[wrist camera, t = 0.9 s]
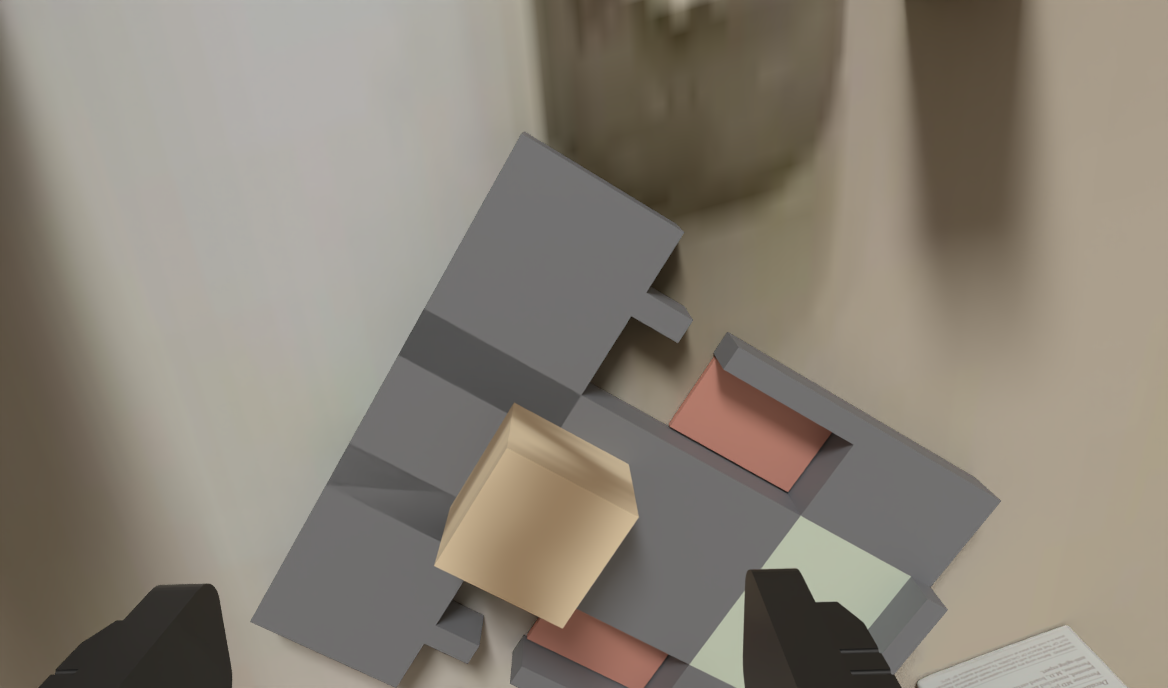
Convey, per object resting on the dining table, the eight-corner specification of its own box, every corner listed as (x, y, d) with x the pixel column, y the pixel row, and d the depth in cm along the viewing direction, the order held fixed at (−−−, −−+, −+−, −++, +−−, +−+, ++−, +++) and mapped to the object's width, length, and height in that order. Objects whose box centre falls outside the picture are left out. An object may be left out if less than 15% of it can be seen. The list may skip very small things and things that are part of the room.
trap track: (268, 591, 33) (235, 646, 30) (524, 131, 28) (519, 134, 25) (716, 799, 37) (731, 867, 34) (1014, 430, 32) (1066, 467, 29)
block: (450, 507, 30) (433, 565, 26) (514, 402, 29) (506, 447, 25) (562, 564, 31) (562, 628, 27) (628, 464, 30) (638, 517, 26)
